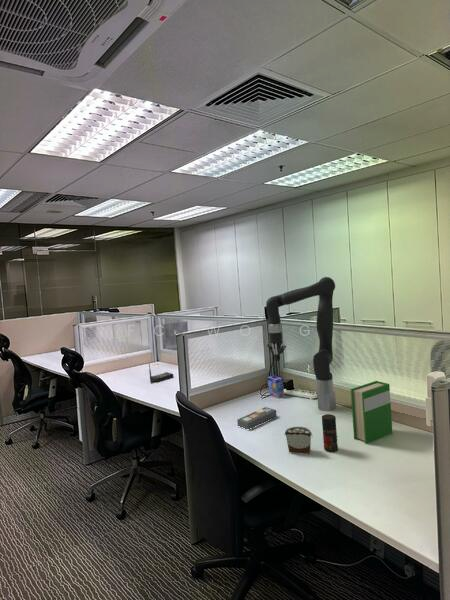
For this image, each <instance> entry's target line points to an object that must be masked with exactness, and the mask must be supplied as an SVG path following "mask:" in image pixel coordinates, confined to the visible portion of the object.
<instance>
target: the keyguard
mask: <svg viewBox="0 0 450 600" xmlns="http://www.w3.org/2000/svg"><path fill="white" fill-rule="evenodd" d="M266 408H267V409H271V410H272V411H271V412H268V413H267V412H265V414H264V415H262V416H261V415H259V417H257V418H255V419H254V418H252V420H251V421H249V422H246V421H243V420H242V419H244V418H246V417H249V416H250V415H253V414H255V411H253V412H250V413H249V414H247V415H245V416H242V417H240V418H238V419H237V421H236V422H237V427H238V426H240V427H243V428H245V429H244V430H246V429H250V428H252V429H254V428H253V427H255V426H257V425H259V424H261V425H262V423H263V424H265V423H267V422H269V421H271V420H274V419H275V418H277V416H278V415H277V409H274V408H270V407H267V406H264V407H263V408H261V409H262V410H264V409H266ZM255 415H257V414H255ZM249 418H251V417H249ZM270 419H271V420H270ZM268 420H269V421H268ZM266 421H267V422H266ZM264 422H265V423H264ZM259 426H260V425H259ZM240 427H239V428H240ZM257 427H258V426H257ZM243 428H242V429H243ZM255 428H256V427H255ZM250 430H251V429H250Z"/></svg>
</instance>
